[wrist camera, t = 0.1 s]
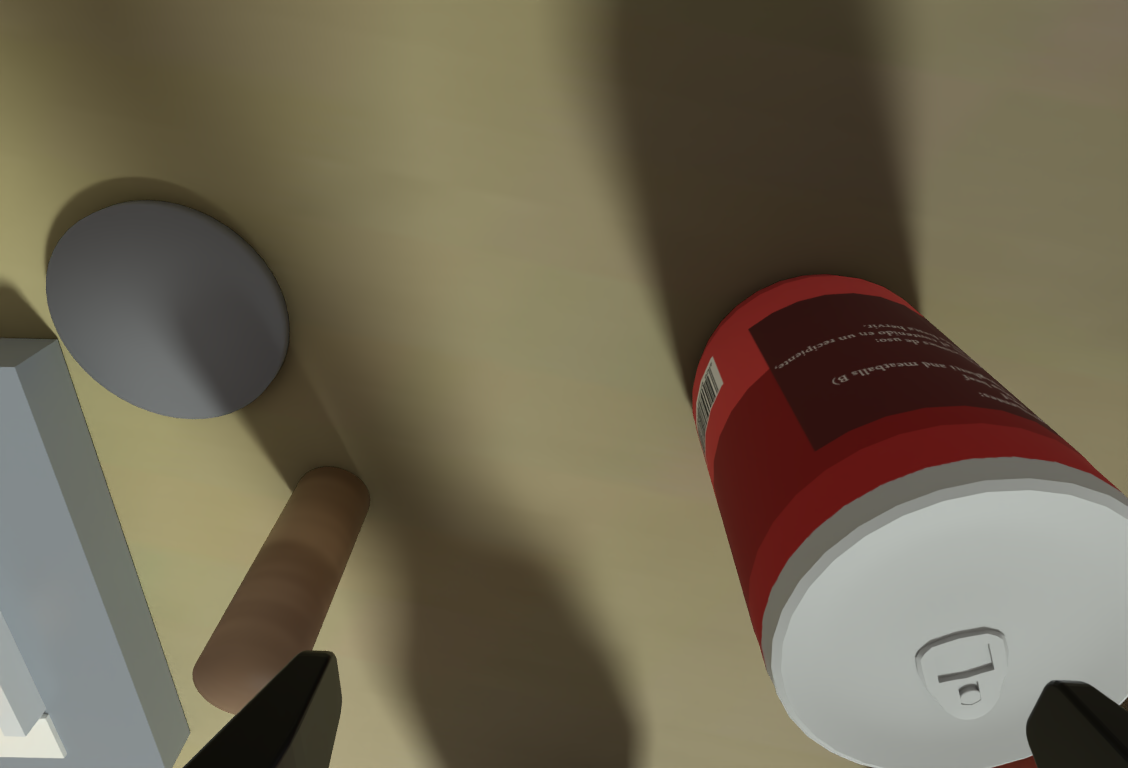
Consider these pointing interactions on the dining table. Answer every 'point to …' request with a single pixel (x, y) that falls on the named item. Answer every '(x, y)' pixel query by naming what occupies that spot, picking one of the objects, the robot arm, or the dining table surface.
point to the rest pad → (168, 309)
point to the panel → (70, 591)
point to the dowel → (284, 589)
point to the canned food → (904, 529)
